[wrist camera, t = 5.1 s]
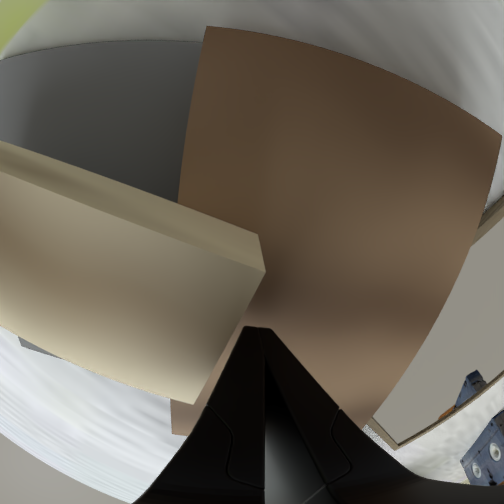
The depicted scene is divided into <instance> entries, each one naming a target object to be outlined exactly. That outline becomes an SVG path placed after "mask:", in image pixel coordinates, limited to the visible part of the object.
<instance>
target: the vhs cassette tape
mask: <svg viewBox="0 0 504 504" xmlns="http://www.w3.org/2000/svg"><path fill="white" fill-rule="evenodd" d="M460 463H461V464H462V466H463V468H464V471H465V473H466V475H467V477H468V479H469V482H470V484H471V485H482V486H497V485H499V484H500V483H501V482H503V481H504V410H503V411H502V412H500V413H499V414H497V415H496V416H495V417H494V418H492V419H491V421H490V422H489V423H488V425H487V426H486V428H485V429H484V431H483V432H482V433H481V435H480V436H479V437H478V439H477V440H476V441H475V443H474V444H473V445H472V447H471V448H470V449H469V450H468V452H467V453H466V454H465V455H464V457H463V458H462V459H461V460H460Z"/></svg>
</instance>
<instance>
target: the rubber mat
mask: <svg viewBox="0 0 504 504" xmlns="http://www.w3.org/2000/svg"><path fill="white" fill-rule="evenodd" d="M202 44H203V43H201V42H188V41H167V40H128V41H108V42H96V43H86V44H77V45H70V46H63V47H56V48H51V49H45V50H40V51H35V52H30V53H26V54H22V55H18V56H14V57H10V58H6V59H3V60H0V140H1V141H4V142H7V143H10V144H12V145H15V146H18V147H21V148H24V149H27V150H30V151H33V152H36V153H39V154H42V155H45V156H48V157H50V158H53V159H56V160H59V161H62V162H65V163H68V164H70V165H73V166H76V167H79V168H82V169H85V170H87V171H90V172H93V173H96V174H98V175H101V176H104V177H107V178H110V179H112V180H115V181H118V182H121V183H123V184H126V185H129V186H132V187H134V188H137V189H140V190H142V191H145V192H148V193H151V194H153V195H156V196H159V197H161V198H164V199H167V200H169V201H172V202H175V203H178V193H179V184H180V175H181V167H182V159H183V152H184V145H185V138H186V131H187V124H188V118H189V112H190V106H191V100H192V94H193V89H194V84H195V78H196V73H197V68H198V63H199V58H200V53H201V49H202ZM18 338H19V341H20V343H21V346H23V347H26V348H29V349H32V350H35V351H38V352H41V353H44V354H47V355H50V356H54V357H57V358H60V357H58V356H56V355H54V354H52V353H50V352H47V351H45V350H43V349H42V348H40V347H38V346H36V345H34V344H32V343H30V342H28V341H26V340H24V339H23V338H21V337H19V336H18ZM60 359H62V358H60Z"/></svg>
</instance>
